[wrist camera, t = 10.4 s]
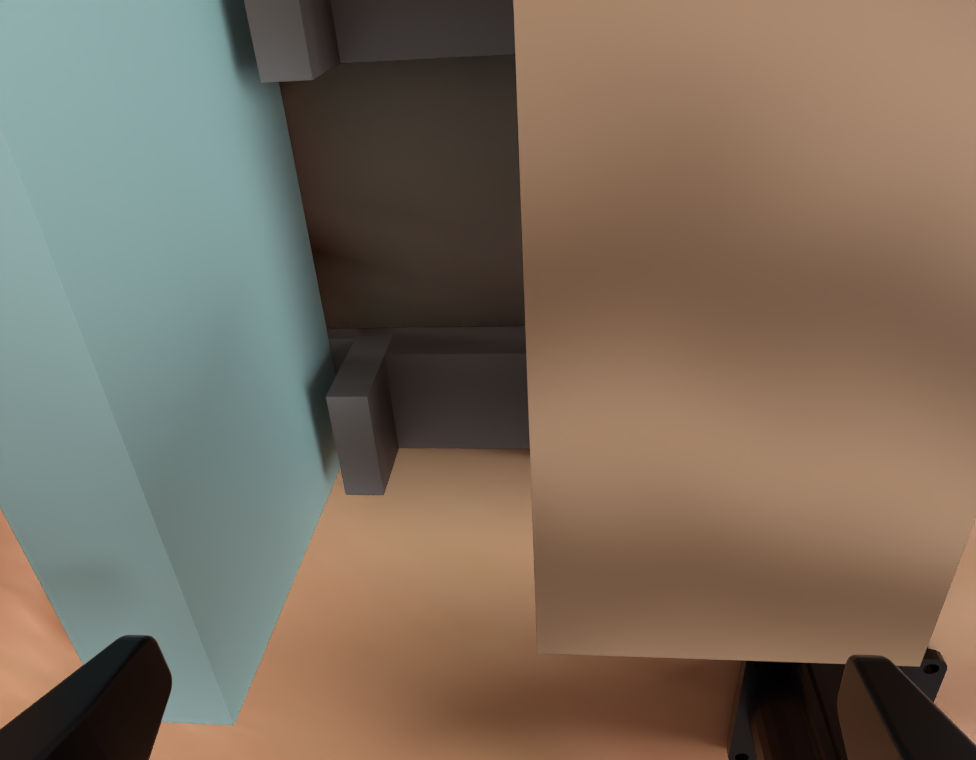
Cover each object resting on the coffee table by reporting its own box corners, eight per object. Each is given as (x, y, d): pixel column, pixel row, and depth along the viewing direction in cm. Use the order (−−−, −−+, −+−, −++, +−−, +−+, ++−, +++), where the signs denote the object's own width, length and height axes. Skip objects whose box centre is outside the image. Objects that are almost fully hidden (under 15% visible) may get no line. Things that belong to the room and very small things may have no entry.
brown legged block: (821, 461, 21) (919, 666, 15) (227, 456, 23) (111, 638, 17) (979, -258, 13) (1326, -411, 7) (35, -173, 15) (-312, -237, 9)
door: (73, -112, 15) (-439, -151, 7) (238, -125, 15) (-120, -180, 7) (236, 445, 22) (64, 717, 15) (349, 446, 22) (234, 724, 14)
